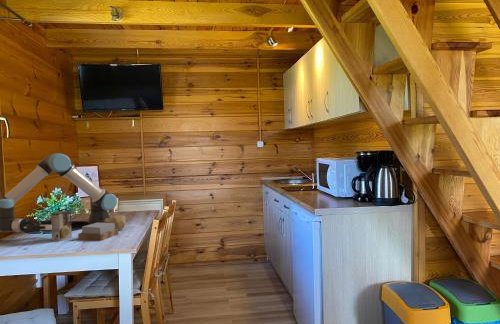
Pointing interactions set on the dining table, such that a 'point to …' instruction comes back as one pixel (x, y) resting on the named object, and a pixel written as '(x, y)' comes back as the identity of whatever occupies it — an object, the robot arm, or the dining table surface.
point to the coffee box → (61, 226)
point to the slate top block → (98, 228)
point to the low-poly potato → (117, 222)
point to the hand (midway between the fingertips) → (58, 224)
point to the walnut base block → (98, 235)
